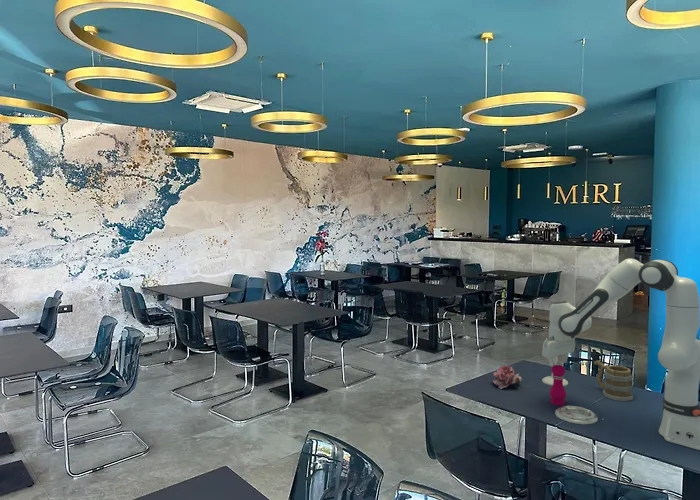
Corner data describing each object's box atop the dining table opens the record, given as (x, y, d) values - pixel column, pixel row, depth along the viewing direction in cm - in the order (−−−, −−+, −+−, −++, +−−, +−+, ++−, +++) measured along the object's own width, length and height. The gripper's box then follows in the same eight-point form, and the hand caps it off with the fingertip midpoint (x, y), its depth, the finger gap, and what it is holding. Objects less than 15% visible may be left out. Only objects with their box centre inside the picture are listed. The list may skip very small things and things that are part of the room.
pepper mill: (567, 406, 226) (568, 364, 225) (551, 405, 228) (551, 363, 227) (564, 400, 234) (564, 359, 232) (548, 399, 235) (548, 359, 234)
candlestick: (572, 386, 254) (573, 329, 252) (547, 386, 254) (548, 329, 252) (561, 378, 266) (563, 324, 264) (538, 378, 266) (539, 324, 265)
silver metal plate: (605, 418, 212) (605, 414, 212) (582, 427, 203) (582, 423, 203) (570, 406, 227) (570, 402, 227) (547, 414, 218) (547, 409, 218)
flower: (497, 373, 266) (498, 358, 262) (524, 382, 257) (526, 366, 253) (487, 388, 255) (488, 373, 251) (515, 398, 246) (516, 382, 243)
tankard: (638, 398, 235) (639, 368, 234) (619, 402, 231) (620, 371, 230) (603, 385, 254) (604, 357, 253) (585, 389, 249) (586, 360, 248)
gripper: (550, 339, 220) (550, 369, 221) (577, 333, 231) (577, 362, 232) (539, 336, 226) (538, 366, 227) (565, 331, 237) (565, 359, 238)
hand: (558, 364), depth 230 cm, fingers open, 8 cm apart
